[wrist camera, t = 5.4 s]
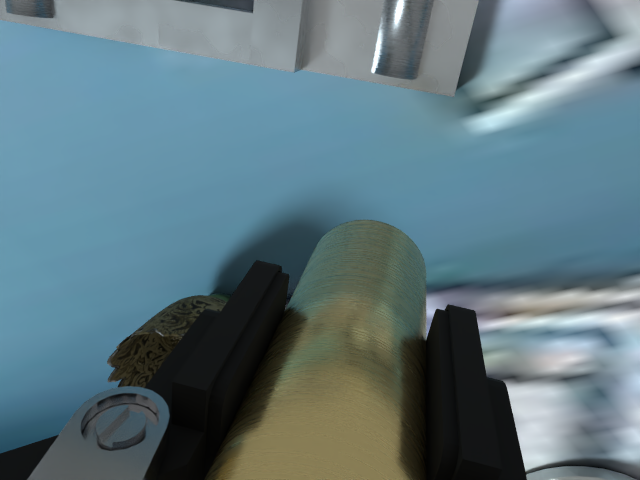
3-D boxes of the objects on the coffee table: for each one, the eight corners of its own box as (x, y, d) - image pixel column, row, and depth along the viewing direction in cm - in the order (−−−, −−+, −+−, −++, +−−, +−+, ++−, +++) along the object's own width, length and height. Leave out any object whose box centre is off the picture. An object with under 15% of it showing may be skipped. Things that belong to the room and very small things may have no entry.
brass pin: (469, 218, 12) (592, 776, 3) (426, 354, 14) (428, 938, 5) (300, 182, 13) (-1, 581, 4) (281, 319, 15) (56, 796, 6)
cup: (241, 246, 30) (184, 315, 23) (299, 338, 32) (262, 427, 25) (155, 287, 33) (80, 360, 26) (212, 368, 35) (158, 457, 28)
